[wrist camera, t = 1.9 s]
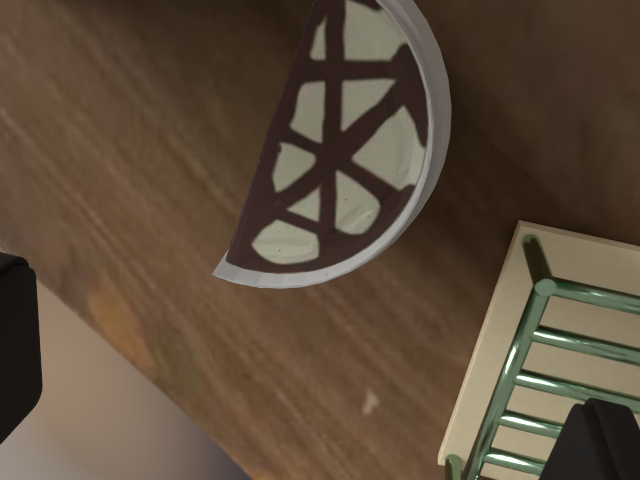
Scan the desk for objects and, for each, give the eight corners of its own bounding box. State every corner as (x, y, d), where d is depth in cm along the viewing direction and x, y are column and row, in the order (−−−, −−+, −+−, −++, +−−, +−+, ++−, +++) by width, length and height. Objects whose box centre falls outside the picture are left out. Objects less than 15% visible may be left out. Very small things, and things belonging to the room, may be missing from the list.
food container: (383, 239, 31) (361, 352, 22) (274, 193, 31) (207, 287, 22) (498, 1, 25) (530, 22, 16) (364, -56, 25) (324, -65, 16)
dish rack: (437, 454, 36) (437, 594, 28) (518, 219, 29) (548, 317, 21) (673, 515, 35) (742, 680, 27) (817, 284, 28) (970, 415, 20)
